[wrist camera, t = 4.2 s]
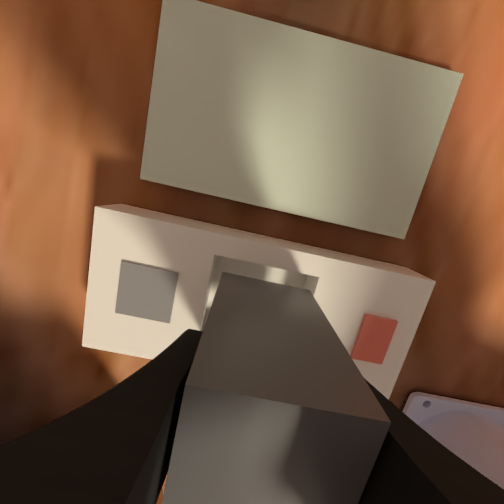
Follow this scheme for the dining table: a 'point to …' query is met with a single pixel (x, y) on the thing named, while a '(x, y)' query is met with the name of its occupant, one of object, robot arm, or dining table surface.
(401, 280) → the socket strip
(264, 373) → the block
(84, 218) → the dining table surface
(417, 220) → the dining table surface
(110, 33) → the dining table surface
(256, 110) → the sage mat
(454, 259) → the dining table surface
